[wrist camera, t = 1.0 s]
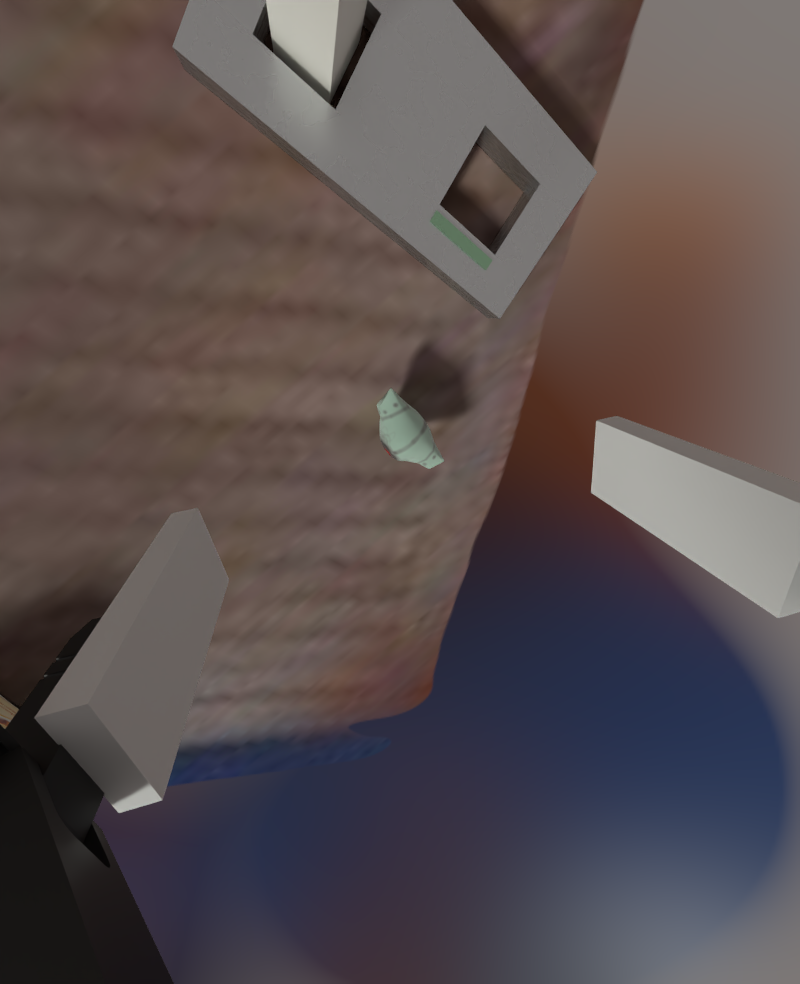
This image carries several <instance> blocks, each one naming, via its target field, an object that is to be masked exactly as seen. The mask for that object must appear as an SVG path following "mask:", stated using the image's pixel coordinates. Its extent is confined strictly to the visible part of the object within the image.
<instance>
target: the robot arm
mask: <svg viewBox="0 0 800 984" xmlns="http://www.w3.org/2000/svg"><path fill="white" fill-rule="evenodd" d="M591 493H593V494H594V495H596V496H597V497H599V498H600V499H601V500H603V501H605V502H606V503H608V504H609V505H611V506H612V507H613V508H615V509H617V510H618V511H619V512H621V513H622V514H624V515H625V516H627V517H628V518H630V519H631V520H633V521H634V522H636V523H637V524H639V525H640V526H642V527H643V528H645V529H646V530H648V531H649V532H651V533H652V534H654V535H655V536H657V537H658V538H659V539H661V540H663V541H664V542H666V543H667V544H668V545H670V546H672V547H673V548H674V549H676V550H678V551H679V552H680V553H682V554H683V555H685V556H686V557H688V558H689V559H691V560H692V561H694V562H695V563H697V564H698V565H700V566H701V567H703V568H704V569H706V570H707V571H709V572H710V573H712V574H713V575H714V576H716V577H717V578H719V579H720V580H722V581H723V582H725V583H726V584H728V585H730V586H731V587H732V588H734V589H735V590H737V591H738V592H740V593H741V594H743V595H744V596H746V597H747V598H749V599H750V600H752V601H753V602H755V603H756V604H758V605H759V606H761V607H762V608H764V609H765V610H767V611H768V612H769V613H771V614H773V615H774V616H775V617H777V618H781V617H784V616H787V615H791V614H794V613H798V612H800V483H799V482H797V481H794V480H791V479H788V478H785V477H783V476H780V475H777V474H774V473H771V472H769V471H766V470H764V469H761V468H758V467H755V466H753V465H750V464H747V463H744V462H742V461H739V460H736V459H733V458H731V457H728V456H725V455H722V454H720V453H717V452H714V451H711V450H709V449H706V448H703V447H701V446H698V445H695V444H692V443H690V442H687V441H684V440H681V439H679V438H676V437H673V436H670V435H667V434H665V433H662V432H659V431H657V430H654V429H651V428H649V427H646V426H643V425H640V424H638V423H635V422H632V421H629V420H627V419H624V418H621V417H618V416H615V417H611V418H606V419H601V420H597V421H596V434H595V447H594V460H593V474H592V487H591ZM228 581H229V578H228V576H227V574H226V571H225V569H224V567H223V565H222V562H221V560H220V558H219V555H218V553H217V551H216V548H215V546H214V544H213V542H212V539H211V537H210V535H209V532H208V530H207V528H206V526H205V523H204V521H203V519H202V516H201V514H200V512H199V509H198V508H195V509H190V510H186V511H181V512H176V513H172V514H171V515H170V517H169V518H168V520H167V521H166V523H165V524H164V525H163V527H162V528H161V530H160V531H159V533H158V534H157V536H156V537H155V539H154V540H153V542H152V543H151V545H150V546H149V548H148V549H147V551H146V552H145V554H144V555H143V557H142V558H141V560H140V561H139V563H138V564H137V566H136V567H135V569H134V570H133V572H132V573H131V575H130V576H129V578H128V579H127V581H126V582H125V584H124V585H123V587H122V588H121V590H120V591H119V592H118V594H117V595H116V597H115V598H114V600H113V601H112V603H111V604H110V606H109V607H108V609H107V610H106V612H105V613H104V615H103V616H102V617H101V618H97V619H93V620H91V621H90V622H89V623H88V624H86V625H85V626H84V627H83V628H82V629H81V630H80V631H79V632H77V633H76V634H75V635H74V636H73V637H72V638H71V639H70V640H69V641H68V643H67V644H66V645H65V647H64V648H63V650H62V651H61V652H60V654H59V655H58V656H57V658H56V662H54V663H52V665H51V666H50V667H49V669H48V670H47V672H46V673H45V674H44V679H42V680H40V681H39V683H38V684H37V685H36V687H35V688H34V690H33V691H32V692H31V694H30V695H29V697H28V698H27V699H26V701H25V702H24V703H23V705H22V706H21V708H20V709H19V710H18V712H17V713H16V715H15V716H14V717H13V719H12V720H11V721H10V723H9V724H8V726H7V727H6V728H5V729H4V728H3V727H2V726H1V725H0V984H174V983H173V981H172V978H171V976H170V974H169V972H168V970H167V968H166V966H165V964H164V961H163V959H162V957H161V955H160V953H159V951H158V949H157V946H156V944H155V942H154V940H153V938H152V936H151V934H150V932H149V930H148V928H147V925H146V923H145V921H144V919H143V917H142V914H141V912H140V910H139V908H138V906H137V904H136V902H135V899H134V897H133V895H132V894H131V891H130V889H129V887H128V885H127V882H126V880H125V878H124V876H123V874H122V872H121V870H120V868H119V865H118V863H117V861H116V859H115V857H114V855H113V853H112V850H111V849H110V846H109V844H108V842H107V840H106V838H105V835H104V834H103V831H102V829H101V828H99V826H98V825H97V824H96V823H95V822H94V821H93V819H94V817H95V814H96V812H97V810H98V807H99V805H100V803H101V800H102V798H103V796H104V797H105V798H106V799H107V800H108V801H109V802H110V803H111V805H112V806H113V807H114V808H115V809H116V810H117V811H118V812H119V813H121V812H124V811H127V810H131V809H134V808H138V807H141V806H145V805H148V804H151V803H155V802H158V801H162V800H163V797H164V794H165V790H166V787H167V784H168V780H169V777H170V774H171V771H172V767H173V764H174V761H175V757H176V754H177V751H178V747H179V744H180V741H181V737H182V734H183V731H184V727H185V724H186V721H187V717H188V714H189V711H190V707H191V704H192V701H193V697H194V694H195V691H196V688H197V684H198V681H199V678H200V674H201V671H202V668H203V664H204V661H205V658H206V654H207V651H208V648H209V644H210V641H211V638H212V634H213V631H214V628H215V624H216V621H217V618H218V614H219V611H220V608H221V605H222V601H223V598H224V595H225V591H226V588H227V585H228Z"/></svg>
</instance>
